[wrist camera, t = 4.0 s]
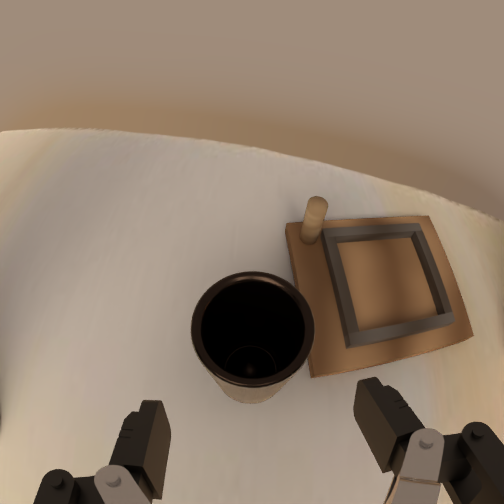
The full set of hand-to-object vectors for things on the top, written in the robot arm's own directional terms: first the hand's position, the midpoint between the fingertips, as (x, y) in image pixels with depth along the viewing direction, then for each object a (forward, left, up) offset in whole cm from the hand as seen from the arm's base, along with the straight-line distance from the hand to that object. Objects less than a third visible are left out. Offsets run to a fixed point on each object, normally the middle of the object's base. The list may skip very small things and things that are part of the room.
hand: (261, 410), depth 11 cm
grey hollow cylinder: (0, +3, -8) cm, 9 cm away
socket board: (+11, +8, -8) cm, 16 cm away
